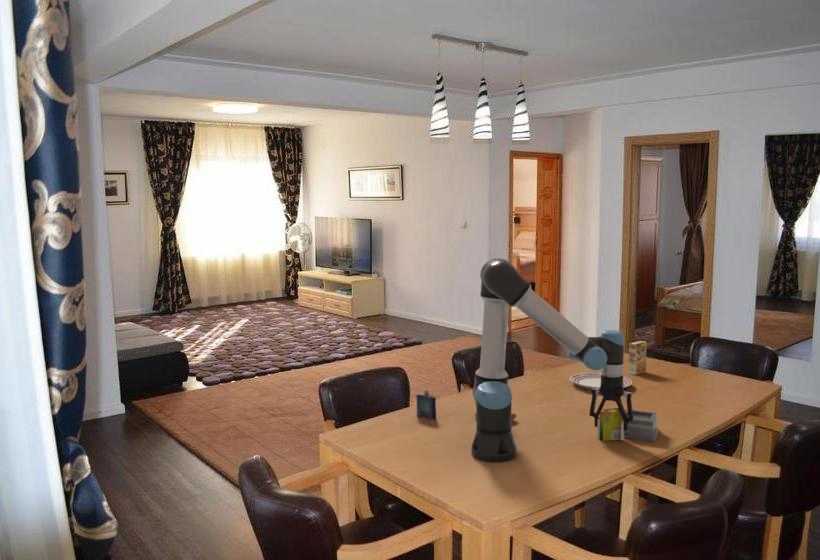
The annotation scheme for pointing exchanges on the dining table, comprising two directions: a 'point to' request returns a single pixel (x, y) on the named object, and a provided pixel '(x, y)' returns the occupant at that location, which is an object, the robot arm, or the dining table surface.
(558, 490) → the dining table surface
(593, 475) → the dining table surface
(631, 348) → the candy box
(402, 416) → the dining table surface
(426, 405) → the flask
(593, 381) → the dinner plate
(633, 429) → the stand
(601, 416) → the crayon box
